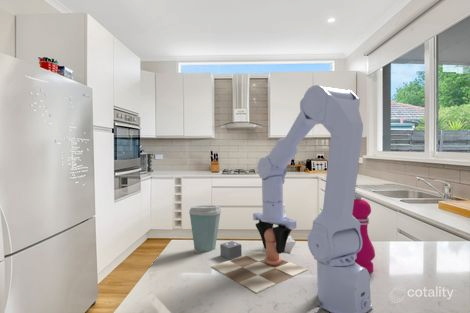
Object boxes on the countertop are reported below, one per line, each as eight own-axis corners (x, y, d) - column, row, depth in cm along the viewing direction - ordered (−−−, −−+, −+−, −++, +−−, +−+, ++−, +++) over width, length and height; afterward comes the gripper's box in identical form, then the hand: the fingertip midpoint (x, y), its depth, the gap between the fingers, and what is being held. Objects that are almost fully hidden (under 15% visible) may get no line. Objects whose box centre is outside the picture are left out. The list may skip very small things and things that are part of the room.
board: (308, 273, 66) (308, 269, 66) (256, 298, 55) (256, 292, 55) (259, 254, 80) (259, 250, 81) (211, 270, 69) (211, 266, 69)
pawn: (284, 261, 71) (281, 228, 71) (273, 267, 68) (270, 232, 68) (273, 257, 74) (270, 225, 74) (262, 262, 72) (259, 229, 71)
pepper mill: (379, 275, 64) (377, 195, 65) (348, 273, 66) (346, 195, 66) (370, 263, 72) (368, 191, 72) (342, 262, 73) (340, 191, 73)
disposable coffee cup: (186, 248, 88) (185, 204, 88) (217, 243, 92) (216, 201, 92) (193, 259, 78) (192, 209, 78) (226, 253, 82) (225, 206, 82)
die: (241, 259, 77) (241, 244, 77) (229, 263, 74) (229, 247, 74) (232, 255, 80) (232, 240, 81) (220, 259, 78) (220, 243, 78)
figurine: (274, 256, 79) (272, 206, 79) (268, 245, 88) (267, 202, 89) (297, 254, 79) (296, 206, 80) (289, 244, 89) (287, 201, 89)
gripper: (244, 199, 75) (246, 246, 75) (282, 206, 64) (284, 261, 63) (262, 197, 79) (263, 241, 79) (300, 202, 68) (302, 254, 68)
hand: (273, 250), depth 72 cm, fingers open, 4 cm apart
